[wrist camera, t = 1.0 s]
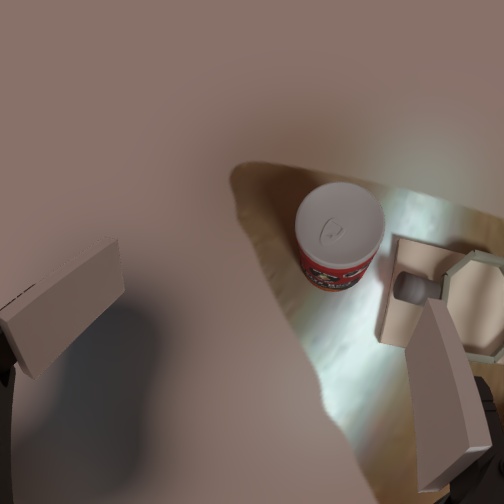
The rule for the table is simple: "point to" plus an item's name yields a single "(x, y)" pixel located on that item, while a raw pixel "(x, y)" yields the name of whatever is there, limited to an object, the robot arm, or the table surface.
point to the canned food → (338, 234)
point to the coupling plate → (448, 297)
